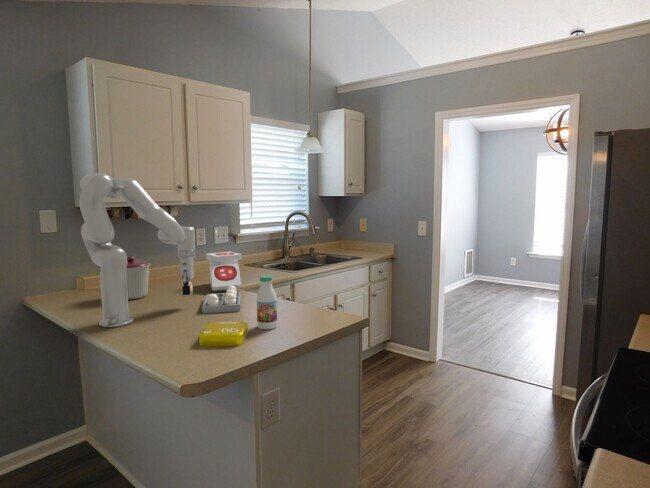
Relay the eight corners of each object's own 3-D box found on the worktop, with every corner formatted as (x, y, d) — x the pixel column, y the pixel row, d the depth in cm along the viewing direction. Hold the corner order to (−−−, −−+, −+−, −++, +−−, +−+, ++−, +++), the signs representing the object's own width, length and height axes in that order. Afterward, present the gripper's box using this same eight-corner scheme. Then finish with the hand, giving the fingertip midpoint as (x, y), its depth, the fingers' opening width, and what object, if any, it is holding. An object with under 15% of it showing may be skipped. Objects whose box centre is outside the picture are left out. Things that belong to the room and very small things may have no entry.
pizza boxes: (209, 294, 219) (207, 260, 217) (206, 283, 247) (205, 252, 245) (246, 291, 224) (245, 258, 222) (240, 280, 253) (238, 250, 251)
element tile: (248, 332, 159) (248, 320, 159) (242, 346, 144) (241, 333, 144) (208, 333, 159) (208, 320, 158) (198, 347, 144) (197, 334, 143)
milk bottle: (255, 325, 166) (254, 275, 164) (274, 322, 169) (273, 273, 167) (259, 331, 159) (258, 279, 157) (279, 328, 162) (278, 277, 159)
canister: (159, 294, 221) (157, 254, 218) (135, 302, 203) (132, 259, 201) (130, 292, 225) (128, 253, 223) (104, 300, 208) (101, 258, 206)
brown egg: (191, 295, 191) (191, 281, 190) (180, 295, 190) (180, 281, 190) (193, 293, 196) (193, 279, 195) (182, 293, 195) (182, 279, 194)
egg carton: (240, 311, 187) (239, 294, 186) (202, 313, 184) (201, 296, 183) (241, 298, 210) (240, 283, 209) (207, 299, 207) (206, 285, 206)
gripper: (192, 256, 184) (193, 297, 185) (197, 251, 200) (197, 289, 202) (174, 256, 182) (175, 297, 184) (180, 251, 199) (181, 289, 201)
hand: (187, 293), depth 193 cm, fingers closed on brown egg, 4 cm apart
